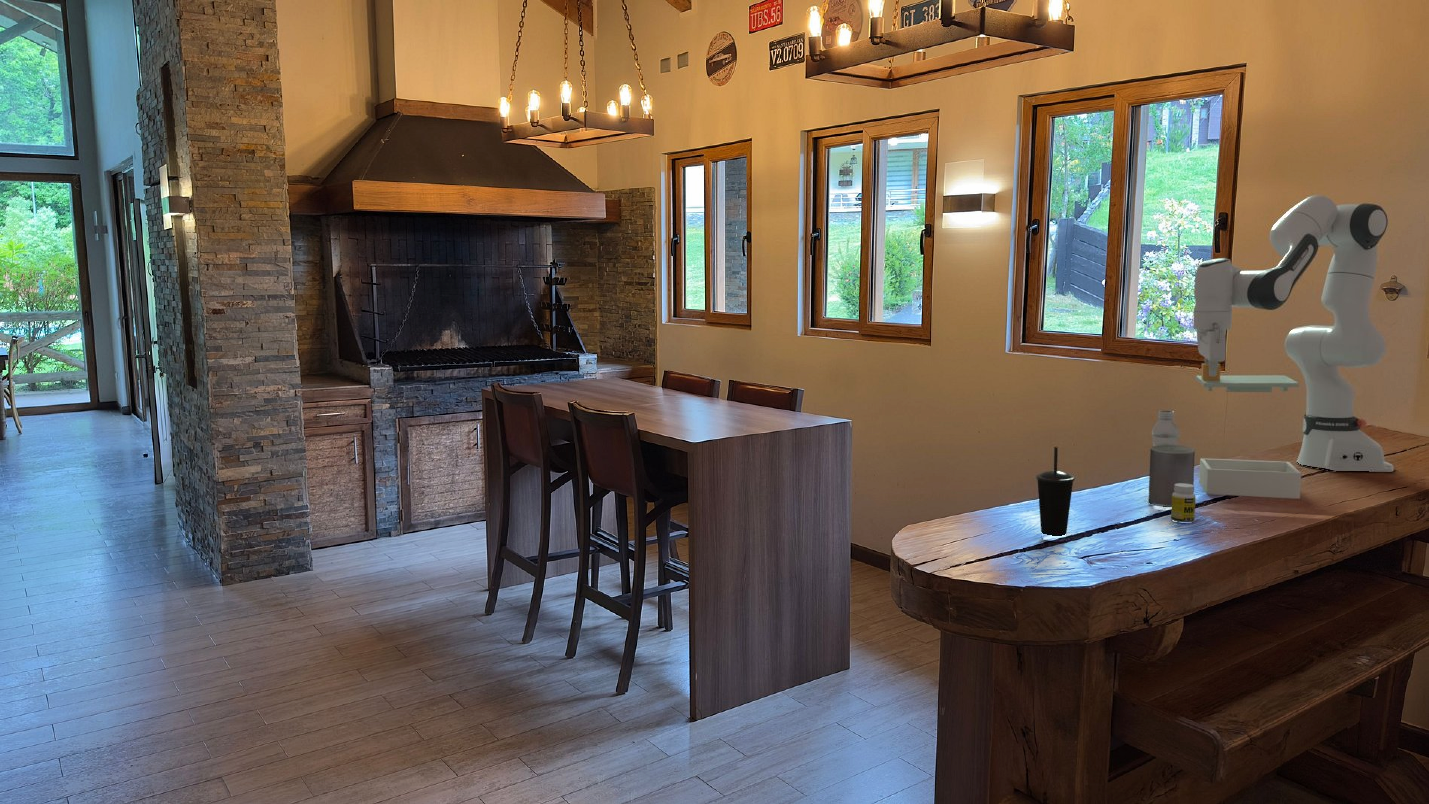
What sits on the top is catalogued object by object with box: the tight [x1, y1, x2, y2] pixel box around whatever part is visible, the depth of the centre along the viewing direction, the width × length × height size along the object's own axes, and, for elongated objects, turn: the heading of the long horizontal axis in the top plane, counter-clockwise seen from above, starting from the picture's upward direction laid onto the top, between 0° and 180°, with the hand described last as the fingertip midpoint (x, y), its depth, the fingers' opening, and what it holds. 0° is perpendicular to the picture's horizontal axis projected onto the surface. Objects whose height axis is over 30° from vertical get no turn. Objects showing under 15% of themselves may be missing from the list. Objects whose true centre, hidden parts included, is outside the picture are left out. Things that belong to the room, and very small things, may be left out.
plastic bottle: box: [1151, 409, 1180, 447], centre depth 243 cm, size 6×7×20 cm
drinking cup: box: [1035, 446, 1076, 536], centre depth 200 cm, size 8×8×20 cm
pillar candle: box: [1147, 443, 1196, 507], centre depth 227 cm, size 10×10×15 cm
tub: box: [1198, 458, 1302, 500], centre depth 237 cm, size 20×14×7 cm
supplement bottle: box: [1170, 483, 1197, 523], centre depth 212 cm, size 5×5×8 cm
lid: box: [1195, 362, 1300, 393], centre depth 245 cm, size 21×15×6 cm
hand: (1210, 375), depth 248 cm, fingers closed on lid, 3 cm apart
